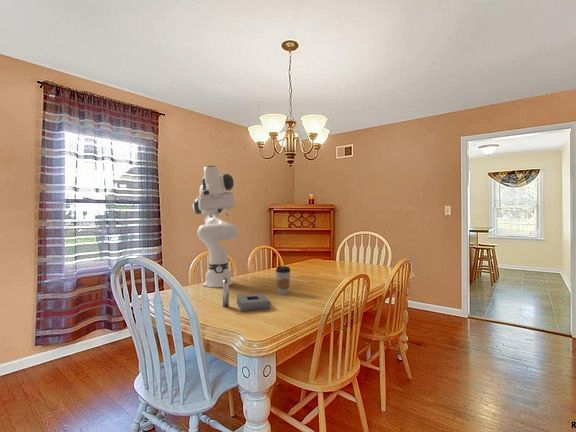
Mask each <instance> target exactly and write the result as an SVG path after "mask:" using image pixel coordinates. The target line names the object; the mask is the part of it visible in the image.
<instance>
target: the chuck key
mask: <svg viewBox="0 0 576 432" xmlns="http://www.w3.org/2000/svg"><path fill="white" fill-rule="evenodd" d="M222 307H223V308H225V307H226V308H229V307H230V285H229V280H227V278H226V277H224V280H223V287H222Z"/></svg>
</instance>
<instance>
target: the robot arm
mask: <svg viewBox="0 0 576 432" xmlns="http://www.w3.org/2000/svg"><path fill="white" fill-rule="evenodd" d="M200 181H201V185H200V187H199V191H198V192H199V195H198V196H197V197H196V198H195V199H194V201H192V210H193V213H195V214H196V215H203V214H205V216H204V224H201V225H199V227H198V228H197V230H196V231H197V232H196V233H197V234H196V235H197V237H198V239H199V240H200V241H201V242H203V243H204V244H205V245H206V248H207V250H208V257H209V258H208V259H209V263H208V270H207V272H206V273H205V281H204V283H203V284H202V286H203V287H209V288H223V280H224V277H226V278H227V280H229V286H230V285H234V282H233V281H232V279H231V278H232V277H231V271H230V270H229V262H228V251H227V250H228V249H227V248H225V247H223V246H221V245H220V244H219V243H218V242H228V241H234V240H236V239H237V238H238V236H239V234H240V231H239V228H238V226H237V225H236V224H234V223H233V224H232V223H230V222H227V221H225V220H222V218H221V216H220V215H219V214H221V213H222V211H224V209H225V210H226V212H225V213H224V214H225V217H229V216H230V213H229V212H230V209H233V208H235V206H236V202H235V199H234V194H233V192H231V191H232V190H233V187H234V183H235V182H234V179H233V177H232V175H230V174H229V173H224V174H220V171H219V168H218V166H217V165H207V166H204V168H203V177H202V178H201V180H200Z"/></svg>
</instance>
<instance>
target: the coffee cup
mask: <svg viewBox="0 0 576 432" xmlns="http://www.w3.org/2000/svg"><path fill="white" fill-rule="evenodd" d="M275 273H276V275H275V276H276V288H277V291H276V292H277V294H278V295H282V296H284V295H288V294H289V293H290V278H291V277H290V276H291V267H289V266H285V265H283V266H276V268H275Z"/></svg>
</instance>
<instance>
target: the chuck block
mask: <svg viewBox="0 0 576 432" xmlns="http://www.w3.org/2000/svg"><path fill="white" fill-rule="evenodd" d="M236 304H237V307H238V309H239V311H240V312H241V313H242V312H243V313H244V312H252V311H254V312H255V311H262V310H263V311H264V310H270V308H271V301H270V299H269V298H268V297H267V296H266V295H265V293H251V294H238V295H236Z"/></svg>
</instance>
